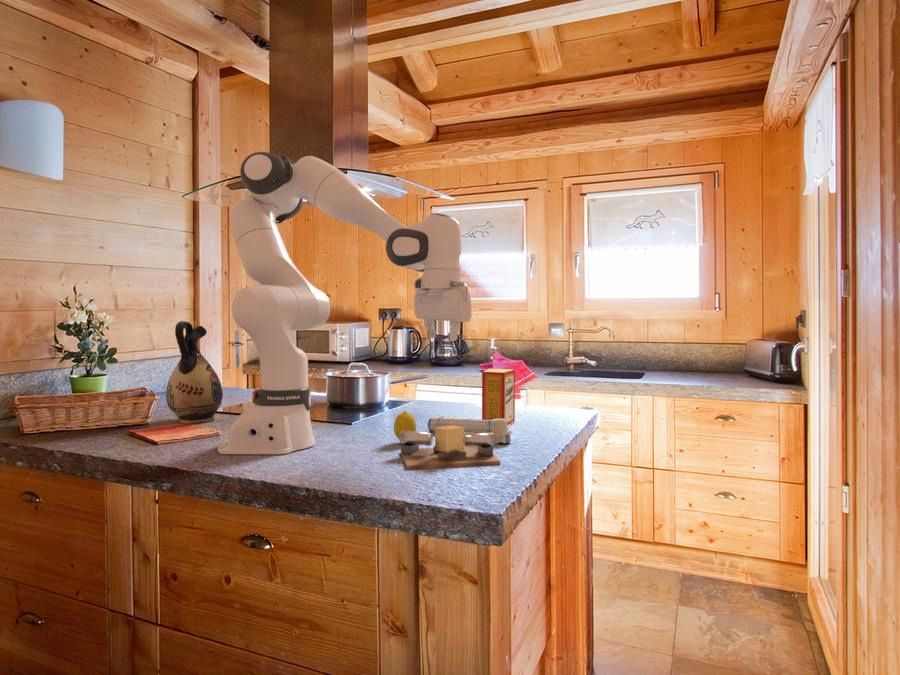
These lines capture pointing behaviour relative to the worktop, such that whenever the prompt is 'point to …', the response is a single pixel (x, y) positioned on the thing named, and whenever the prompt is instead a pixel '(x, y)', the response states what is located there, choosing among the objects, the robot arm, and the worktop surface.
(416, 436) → the shaft
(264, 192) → the robot arm
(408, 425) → the lemon
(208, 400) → the ceramic jug
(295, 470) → the worktop surface
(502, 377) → the baking soda box
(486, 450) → the shaft
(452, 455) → the shaft bench
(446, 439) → the coupling block
